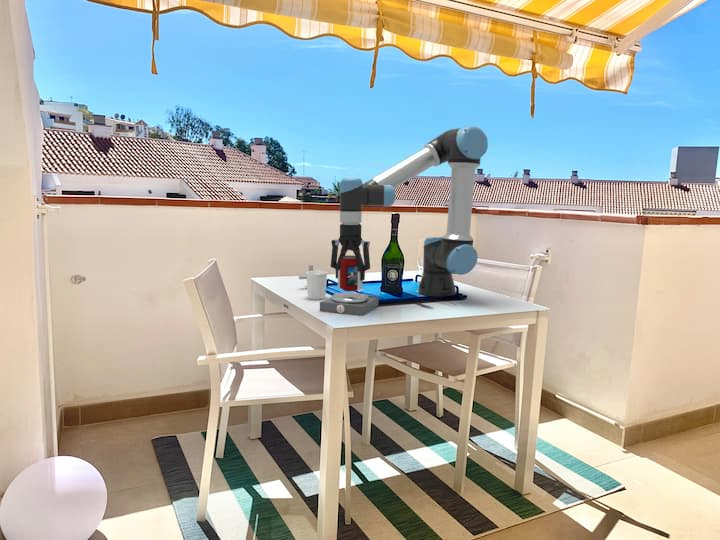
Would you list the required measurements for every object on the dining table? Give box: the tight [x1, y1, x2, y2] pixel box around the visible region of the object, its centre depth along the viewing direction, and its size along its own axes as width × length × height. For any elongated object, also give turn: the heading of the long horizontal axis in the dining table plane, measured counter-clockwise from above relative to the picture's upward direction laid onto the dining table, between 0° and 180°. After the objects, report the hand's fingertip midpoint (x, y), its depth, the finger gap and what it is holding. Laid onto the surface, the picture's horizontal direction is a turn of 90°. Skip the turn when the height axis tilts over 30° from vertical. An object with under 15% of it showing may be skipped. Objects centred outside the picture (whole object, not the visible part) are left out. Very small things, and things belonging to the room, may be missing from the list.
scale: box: [319, 294, 379, 316], centre depth 176 cm, size 16×17×3 cm
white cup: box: [305, 270, 328, 301], centre depth 191 cm, size 8×8×10 cm
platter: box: [331, 292, 368, 304], centre depth 176 cm, size 13×13×1 cm
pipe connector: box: [298, 264, 314, 280], centre depth 209 cm, size 10×10×10 cm
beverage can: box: [340, 254, 360, 292], centre depth 175 cm, size 7×7×12 cm
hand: (350, 288), depth 175 cm, fingers closed on beverage can, 7 cm apart
